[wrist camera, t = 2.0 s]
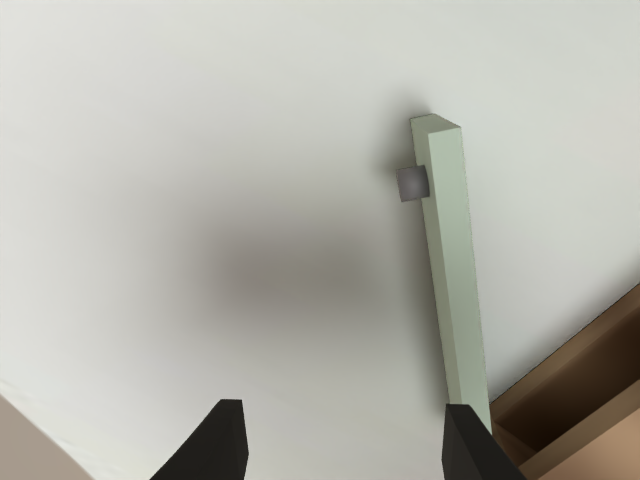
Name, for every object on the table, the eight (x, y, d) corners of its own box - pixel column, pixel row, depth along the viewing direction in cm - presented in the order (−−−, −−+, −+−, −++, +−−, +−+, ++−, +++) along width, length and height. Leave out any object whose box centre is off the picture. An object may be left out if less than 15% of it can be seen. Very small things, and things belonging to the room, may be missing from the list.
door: (471, 420, 23) (498, 499, 19) (433, 424, 23) (451, 503, 19) (434, 113, 18) (460, 127, 13) (385, 124, 18) (395, 140, 14)
